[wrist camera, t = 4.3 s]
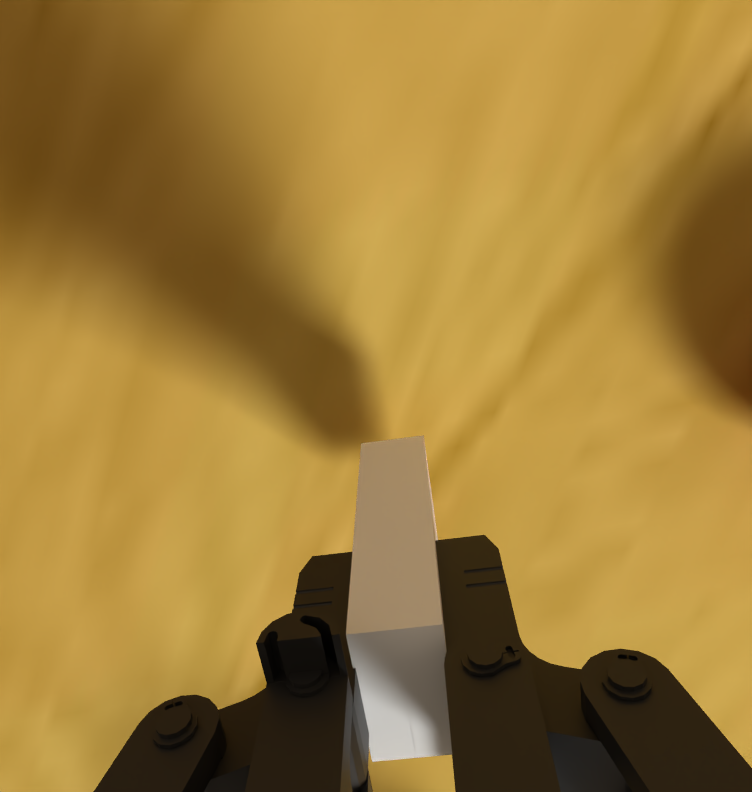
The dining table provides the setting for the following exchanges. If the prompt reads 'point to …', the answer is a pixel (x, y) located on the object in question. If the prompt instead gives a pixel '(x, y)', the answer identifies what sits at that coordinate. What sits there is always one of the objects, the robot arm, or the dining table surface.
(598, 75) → the dining table surface
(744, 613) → the dining table surface
